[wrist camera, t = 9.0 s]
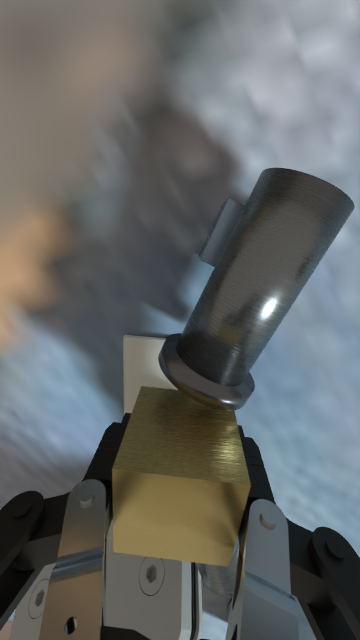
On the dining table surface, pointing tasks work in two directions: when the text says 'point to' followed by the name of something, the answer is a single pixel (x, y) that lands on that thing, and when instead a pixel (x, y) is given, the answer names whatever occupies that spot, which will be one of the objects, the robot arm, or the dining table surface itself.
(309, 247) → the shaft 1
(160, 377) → the plate
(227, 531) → the block
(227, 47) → the dining table surface
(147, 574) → the grey rounded block
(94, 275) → the dining table surface
